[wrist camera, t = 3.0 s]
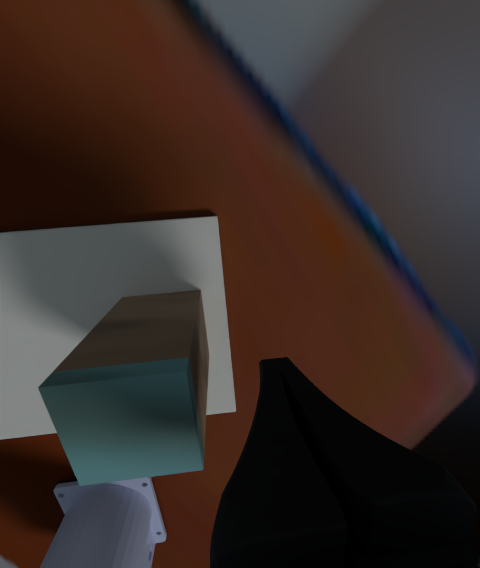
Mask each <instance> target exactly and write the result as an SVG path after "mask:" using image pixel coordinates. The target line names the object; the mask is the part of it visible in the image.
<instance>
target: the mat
mask: <svg viewBox="0 0 480 568" xmlns="http://www.w3.org/2000/svg"><path fill="white" fill-rule="evenodd" d="M194 290H201V294H202V301H203V309H204V317H205V324H206V332H207V340H208V348H209V373H208V391H207V409H206V415H210V414H219V413H227V412H236V405H235V395H234V384H233V374H232V363H231V353H230V343H229V332H228V322H227V311H226V301H225V290H224V280H223V270H222V259H221V249H220V238H219V228H218V218H217V216H207V217H194V218H181V219H168V220H155V221H142V222H129V223H116V224H103V225H90V226H77V227H64V228H51V229H39V230H26V231H13V232H0V440H1V439H9V438H17V437H26V436H34V435H43V434H51V433H57V432H56V429H55V427H54V425H53V422H52V420H51V418H50V415H49V413H48V411H47V408H46V406H45V404H44V401H43V399H42V396H41V394H40V392H39V389H38V387H39V386H40V385H41V384H42V383H43V382H44V381H45V379H46V378H47V377H48V376H49V375H50V374H51V373H52V372H53V371H54V370H55V369H56V368H57V367H58V365H59V364H60V363H61V362H62V361H63V360H64V359H65V358H66V357H67V356H68V355H69V354H70V353H71V352H72V350H73V349H74V348H75V347H76V346H77V345H78V344H79V343H80V342H81V341H82V340H83V339H84V338H85V337H86V335H87V334H88V333H89V332H90V331H91V330H92V329H93V328H94V327H95V326H96V325H97V324H98V323H99V322H100V320H101V319H102V318H103V317H104V316H105V315H106V314H107V313H108V312H109V311H110V310H111V309H112V308H113V307H114V305H115V304H116V303H117V302H118V301H119V300H120V299H121V298H122V297H129V296H140V295H151V294H162V293H172V292H183V291H194Z"/></svg>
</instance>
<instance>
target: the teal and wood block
mask: <svg viewBox="0 0 480 568" xmlns="http://www.w3.org/2000/svg"><path fill="white" fill-rule="evenodd" d="M208 373H209V348H208V340H207V332H206V324H205V317H204V309H203V301H202V294H201V290H194V291H183V292H172V293H162V294H151V295H140V296H129V297H122V298H121V299H120V300H119V301H118V302H117V303H116V304H115V305H114V307H113V308H112V309H111V310H110V311H109V312H108V313H107V314H106V315H105V316H104V317H103V318H102V319H101V320H100V322H99V323H98V324H97V325H96V326H95V327H94V328H93V329H92V330H91V331H90V332H89V333H88V334H87V335H86V337H85V338H84V339H83V340H82V341H81V342H80V343H79V344H78V345H77V346H76V347H75V348H74V349H73V350H72V352H71V353H70V354H69V355H68V356H67V357H66V358H65V359H64V360H63V361H62V362H61V363H60V364H59V365H58V367H57V368H56V369H55V370H54V371H53V372H52V373H51V374H50V375H49V376H48V377H47V378H46V379H45V381H44V382H43V383H42V384H41V385H40V386H39V387H38V389H39V392H40V394H41V396H42V399H43V401H44V404H45V406H46V408H47V411H48V413H49V415H50V418H51V420H52V422H53V425H54V427H55V429H56V432H57V434H58V436H59V439H60V441H61V443H62V446H63V448H64V450H65V453H66V455H67V457H68V460H69V462H70V464H71V467H72V469H73V471H74V474H75V476H76V478H77V481H78V483H79V485H80V486H84V485H92V484H99V483H107V482H115V481H122V480H130V479H138V478H145V477H153V476H161V475H168V474H176V473H183V472H191V471H199V470H203V464H204V446H205V428H206V409H207V391H208Z"/></svg>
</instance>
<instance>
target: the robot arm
mask: <svg viewBox="0 0 480 568" xmlns="http://www.w3.org/2000/svg"><path fill="white" fill-rule="evenodd" d="M259 367H260V392H259V397H258V402H257V407H256V412H255V416H254V419H253V423H252V426H251V429H250V432H249V435H248V438H247V441H246V444H245V446H244V449H243V451H242V453H241V456H240V458H239V460H238V463H237V465H236V467H235V469H234V472H233V474H232V476H231V477H230V479H229V481H228V483H227V485H226V487H225V489H224V491H223V493H222V496H221V500H220V504H219V507H218V511H217V515H216V519H215V523H214V528H213V533H212V539H211V548H210V568H479V567H478V566H477V564H478V562H479V559H478V556H477V555H476V553H475V552H474V551H473V549H472V548H471V546H470V545H469V543H468V542H467V539H468V537H469V535H470V532H471V529H472V527H473V524H474V522H475V517H476V507H475V503H474V502H473V500H472V499H471V498H470V497H469V496H468V495H467V493H466V492H465V491H464V490H463V488H462V487H461V486H460V485H459V483H458V482H457V481H456V480H455V478H454V477H453V476H452V475H451V474H450V473H449V472H448V471H447V470H446V469H445V468H444V467H443V465H441V464H439V463H437V462H435V461H432V460H430V459H428V458H426V457H424V456H422V455H420V454H418V453H415V452H413V451H411V450H409V449H407V448H405V447H403V446H401V445H400V444H398V443H396V442H394V441H392V440H390V439H388V438H387V437H385V436H383V435H381V434H380V433H378V432H376V431H375V430H373V429H371V428H370V427H368V426H367V425H365V424H363V423H362V422H360V421H359V420H357V419H356V418H354V417H353V416H351V415H350V414H349V413H347V412H346V411H345V410H343V409H342V408H340V407H339V406H338V405H337V404H335V403H334V402H333V401H332V400H331V399H329V398H328V397H327V396H326V395H325V394H324V393H322V392H321V391H320V390H319V389H318V388H317V387H316V386H315V385H314V384H313V383H312V382H311V381H310V380H309V379H308V378H307V377H306V376H305V375H304V374H303V373H302V372H301V371H300V370H299V369H298V368H297V367H296V366H295V365H294V364H293V363H292V362H291V360H290V359H289V358H287V357H284V358H275V359H265V360H261V361H260V362H259ZM53 491H54V494H55V496H56V498H57V500H58V502H59V504H60V506H61V508H62V510H63V512H64V514H65V516H64V518H63V520H62V522H61V524H60V526H59V529H58V531H57V533H56V535H55V537H54V539H53V541H52V543H51V545H50V547H49V549H48V552H47V554H46V556H45V558H44V560H43V562H42V564H41V566H40V568H151V565H152V560H153V554H154V548H155V543H160V542H164V541H165V540H166V535H167V534H166V531H165V527H164V523H163V520H162V516H161V513H160V509H159V505H158V502H157V498H156V495H155V491H154V488H153V484H152V480H151V477H145V478H138V479H130V480H122V481H115V482H107V483H99V484H92V485H84V486H80V485H79V483H78V481H75V482H67V483H60V484H57V485H56V487H55V489H54V490H53Z"/></svg>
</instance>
